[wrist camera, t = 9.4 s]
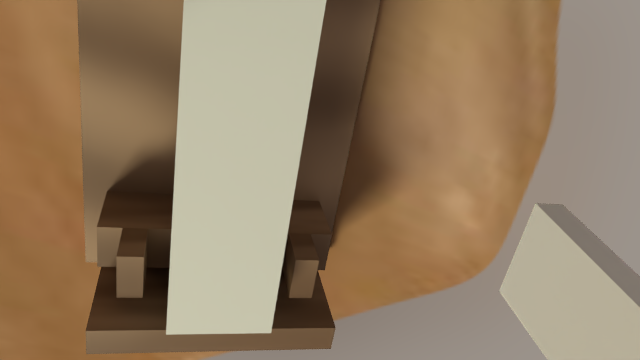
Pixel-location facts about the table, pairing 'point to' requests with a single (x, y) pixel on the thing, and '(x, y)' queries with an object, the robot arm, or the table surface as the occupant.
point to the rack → (159, 169)
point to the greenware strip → (237, 158)
